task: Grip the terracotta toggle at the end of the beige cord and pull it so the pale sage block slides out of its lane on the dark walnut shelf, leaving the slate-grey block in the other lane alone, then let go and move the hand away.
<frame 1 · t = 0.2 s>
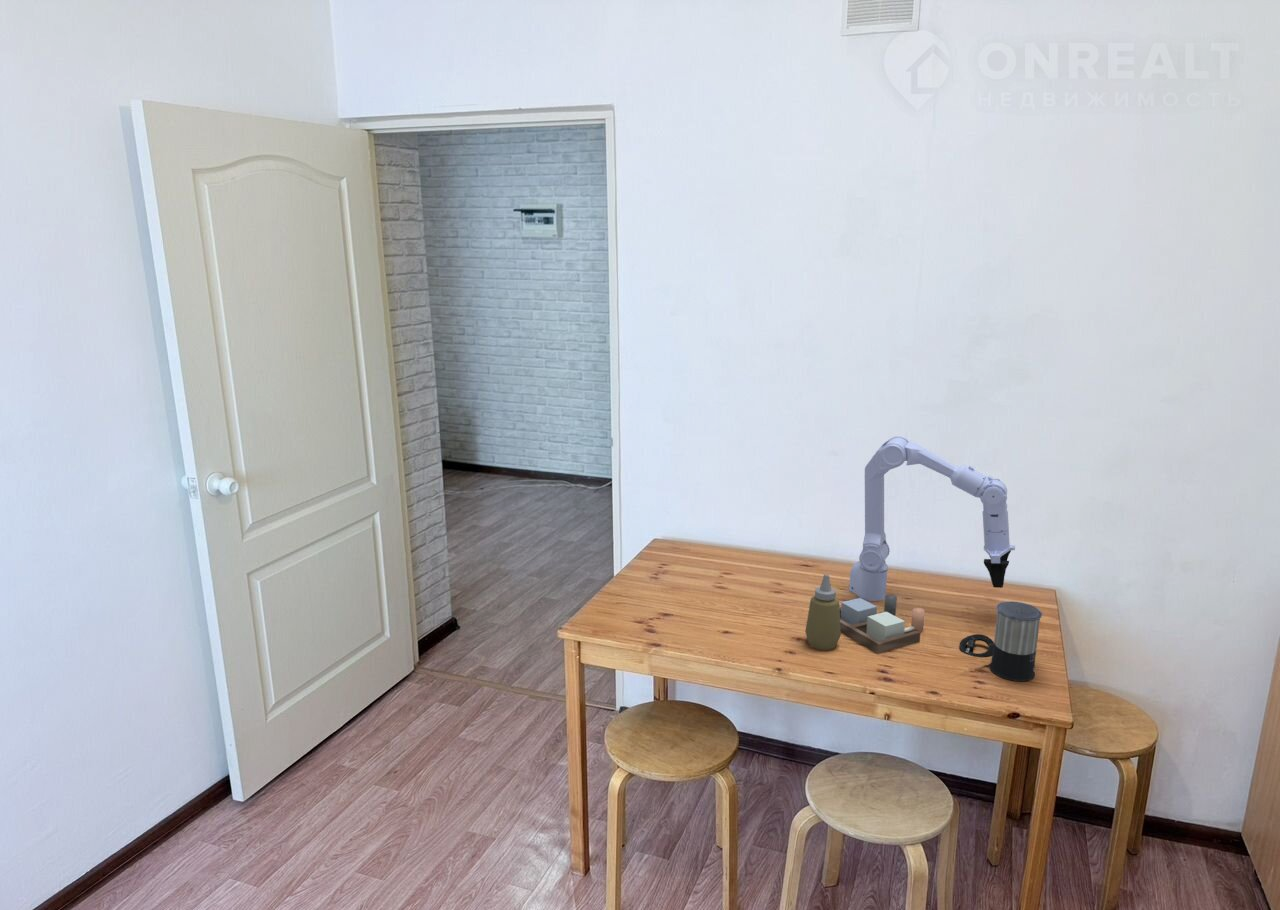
hand: (999, 581, 204), 10 cm above the table, tool pointing down, fingers open, 7 cm apart
milk frother: (995, 664, 184), on the table
slate block: (872, 610, 204), point 3 cm above the table, slide at 0.0 cm
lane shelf: (892, 628, 202), on the table
squeeze bottle: (822, 648, 192), on the table
sage block: (899, 624, 196), point 3 cm above the table, slide at 0.0 cm
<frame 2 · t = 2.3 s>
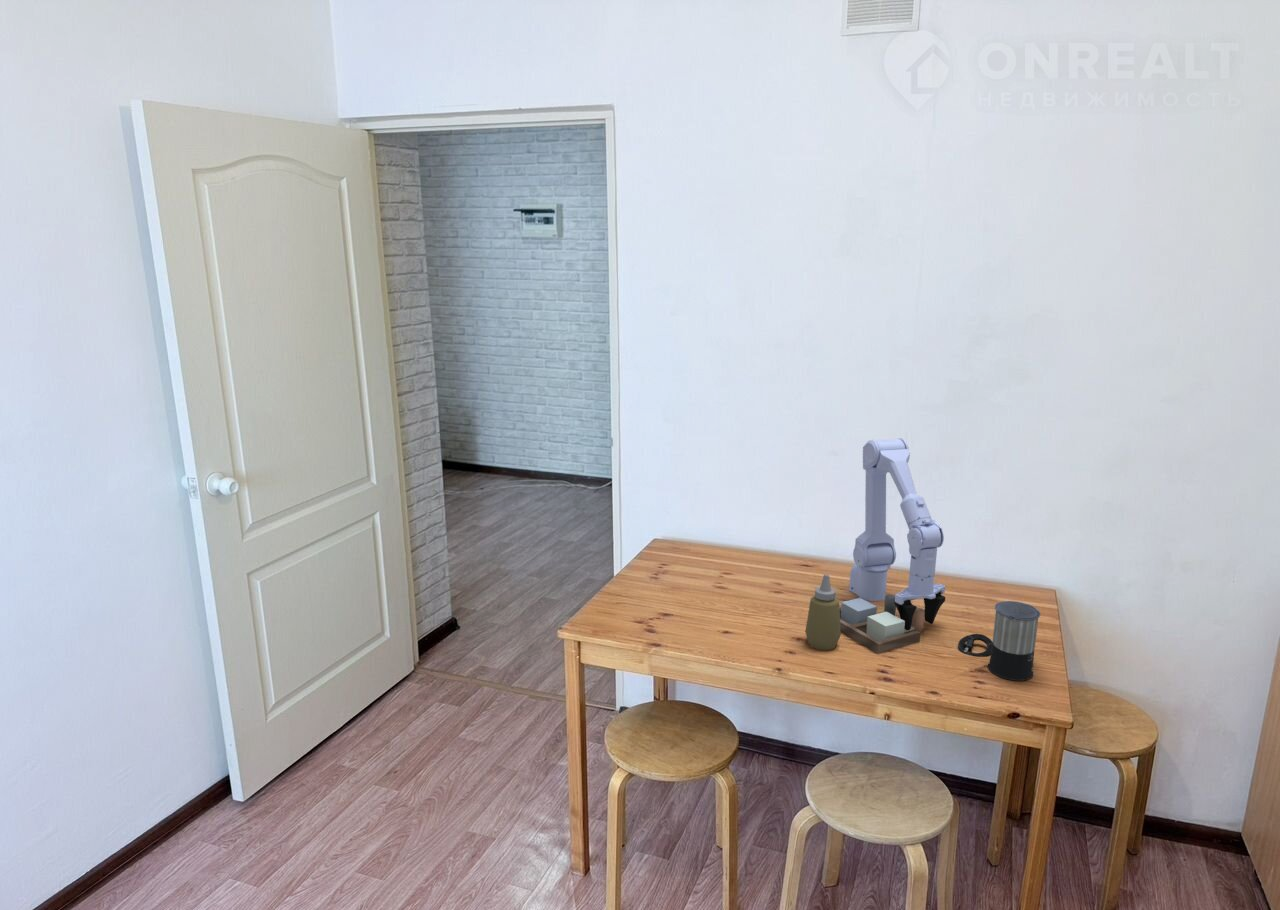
hand: (917, 625, 199), 2 cm above the table, tool pointing down, fingers open, 7 cm apart
sage block: (899, 624, 196), point 3 cm above the table, slide at 0.0 cm, touching gripper
everything else where it was.
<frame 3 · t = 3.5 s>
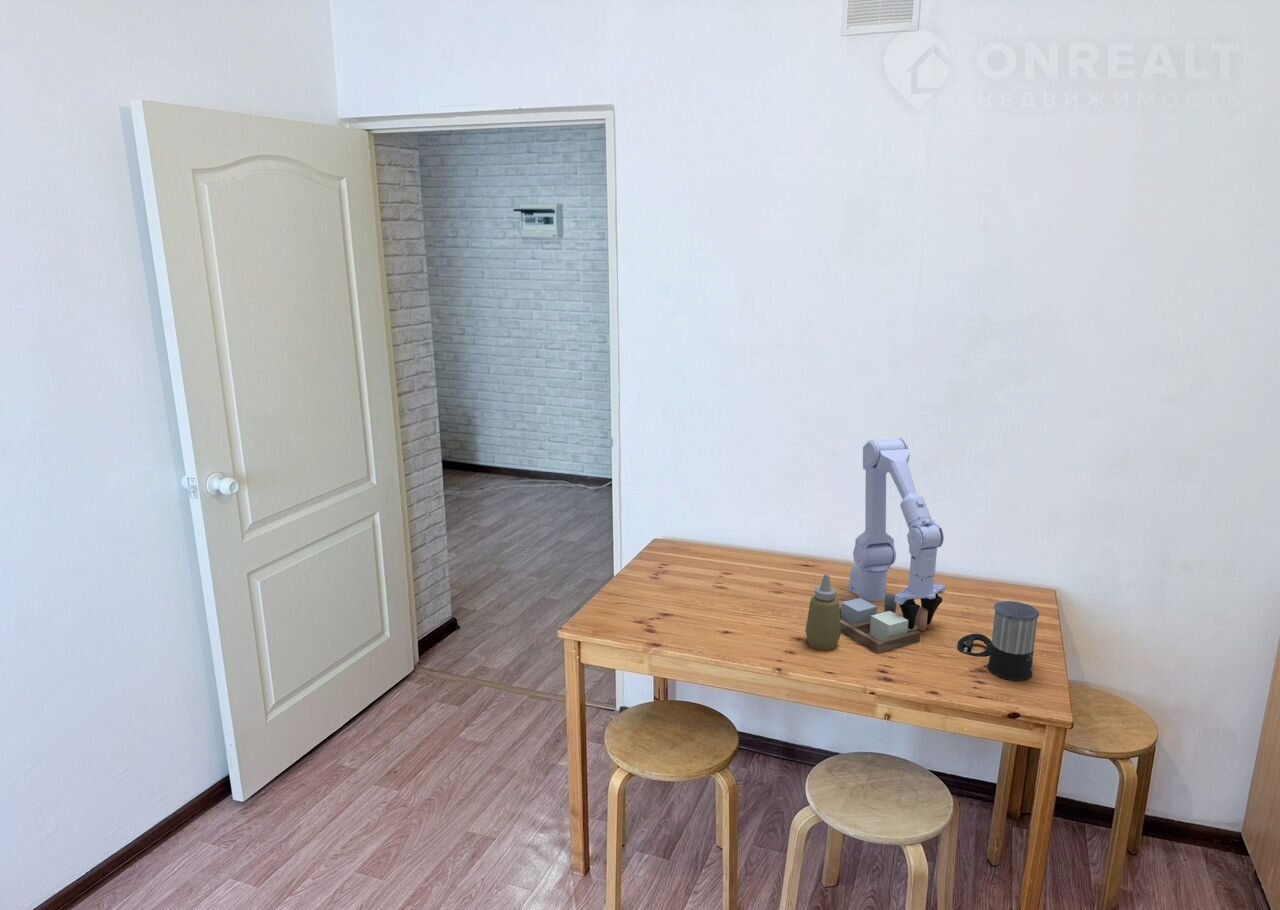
hand: (917, 625, 199), 2 cm above the table, tool pointing down, fingers closed on sage block, 5 cm apart
sage block: (902, 623, 196), point 3 cm above the table, slide at 1.1 cm, touching gripper
everything else where it was.
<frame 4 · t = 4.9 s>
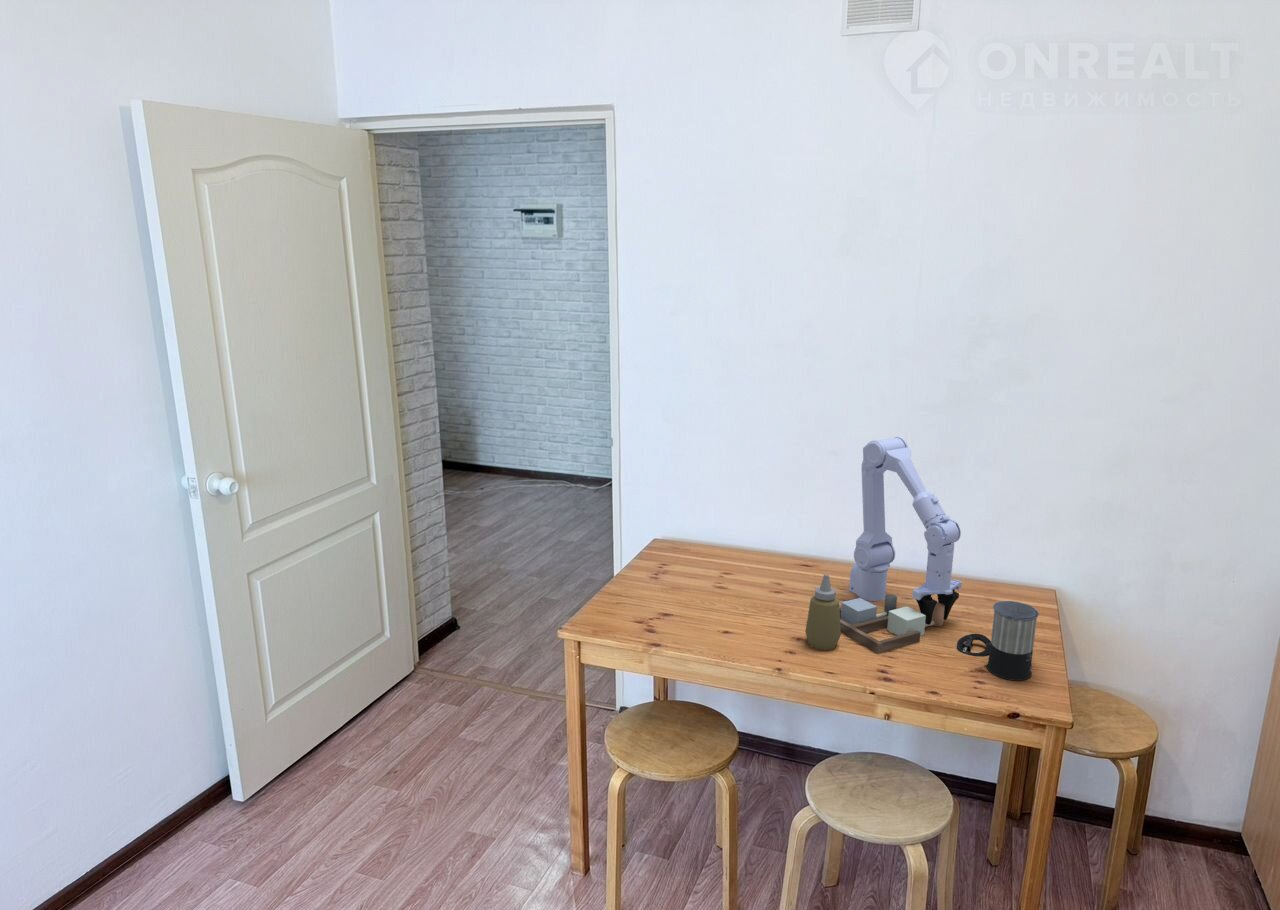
hand: (934, 620, 201), 2 cm above the table, tool pointing down, fingers closed on sage block, 5 cm apart
sage block: (919, 619, 199), point 3 cm above the table, slide at 6.7 cm, touching gripper
everything else where it was.
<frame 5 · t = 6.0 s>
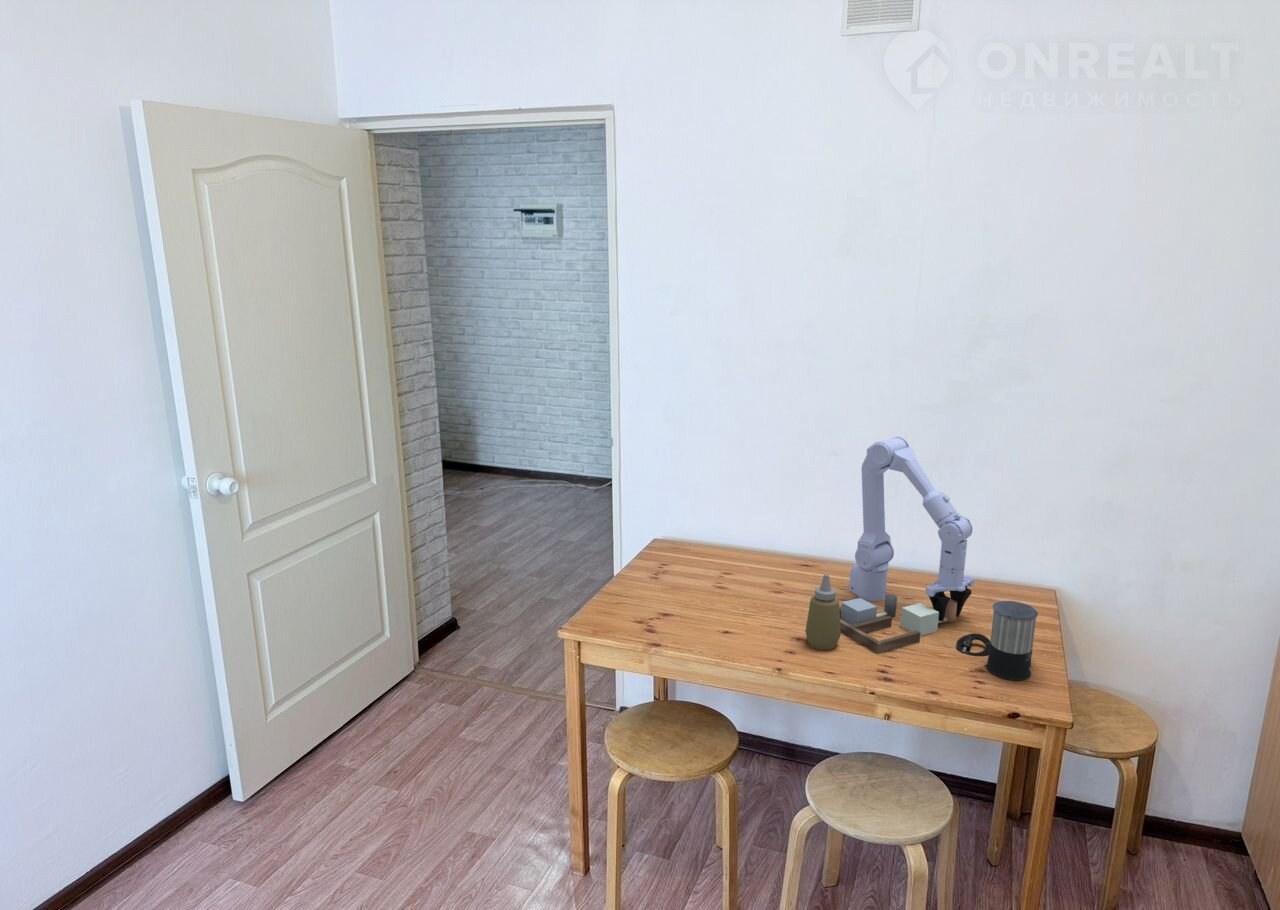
hand: (947, 617, 203), 2 cm above the table, tool pointing down, fingers closed on sage block, 5 cm apart
sage block: (932, 615, 201), point 3 cm above the table, slide at 11.0 cm, touching gripper
everything else where it was.
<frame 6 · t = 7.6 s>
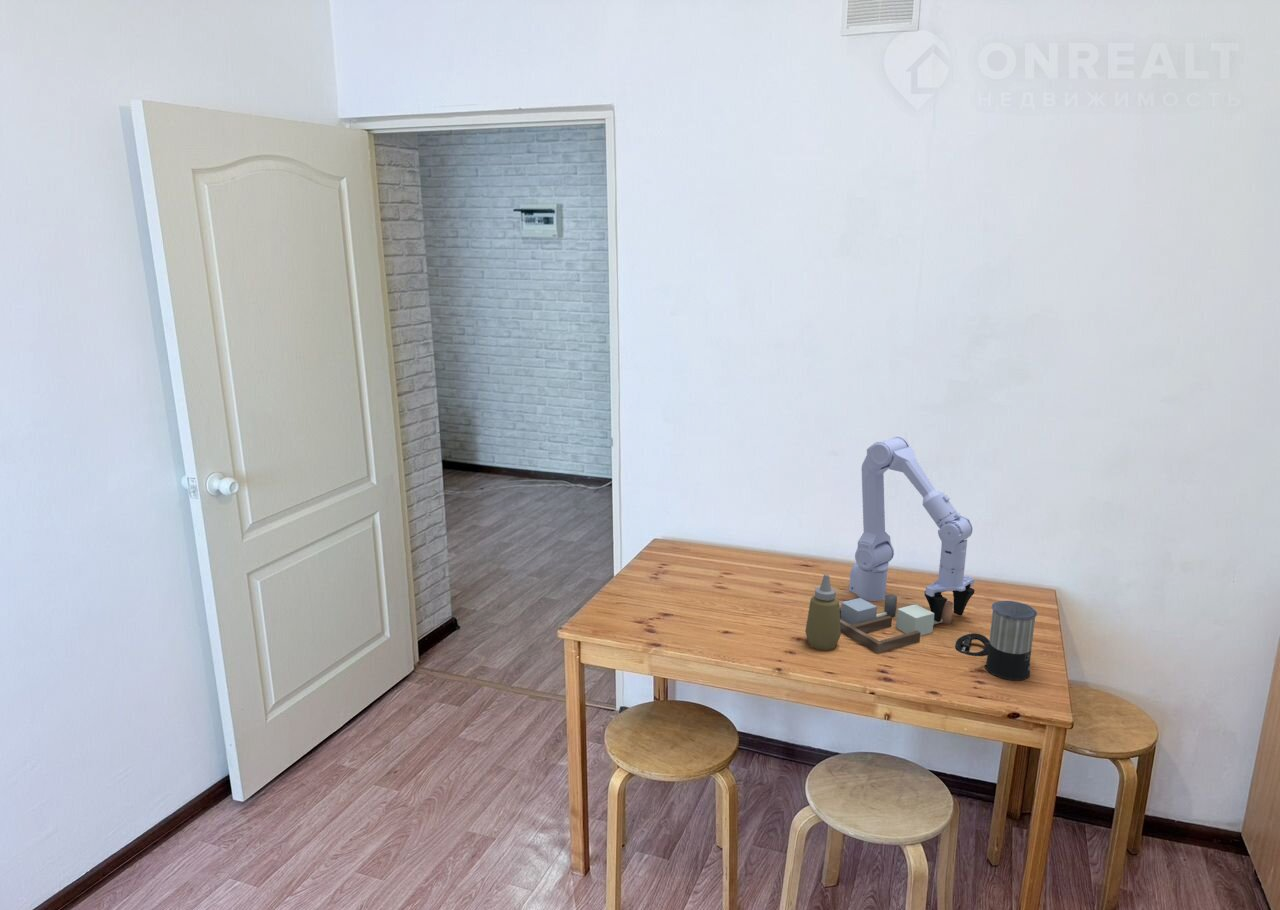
hand: (947, 617, 203), 2 cm above the table, tool pointing down, fingers open, 7 cm apart
sage block: (928, 616, 200), point 3 cm above the table, slide at 9.5 cm, touching gripper
everything else where it was.
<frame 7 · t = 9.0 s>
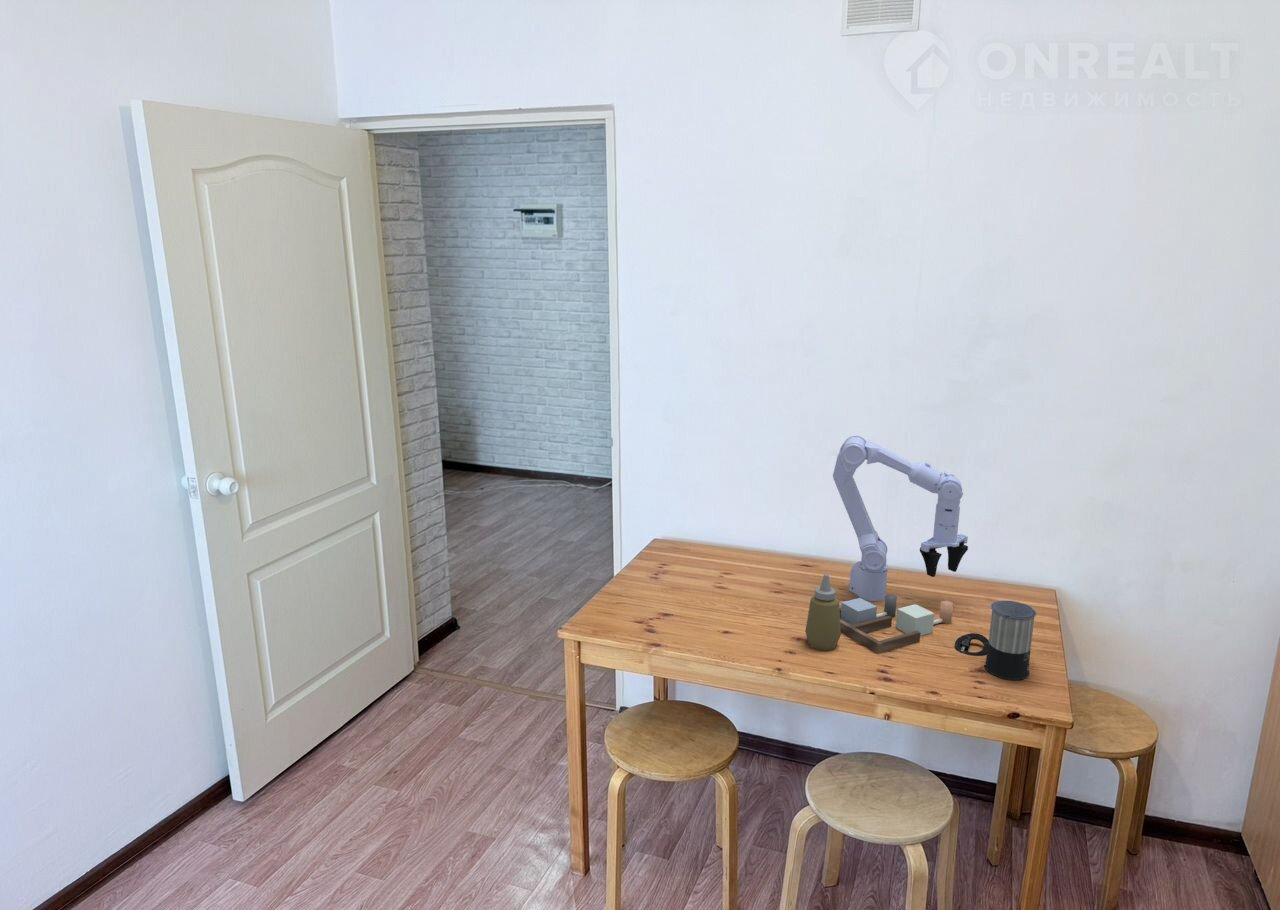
hand: (941, 573, 212), 9 cm above the table, tool pointing down, fingers open, 7 cm apart
sage block: (928, 616, 200), point 3 cm above the table, slide at 9.5 cm
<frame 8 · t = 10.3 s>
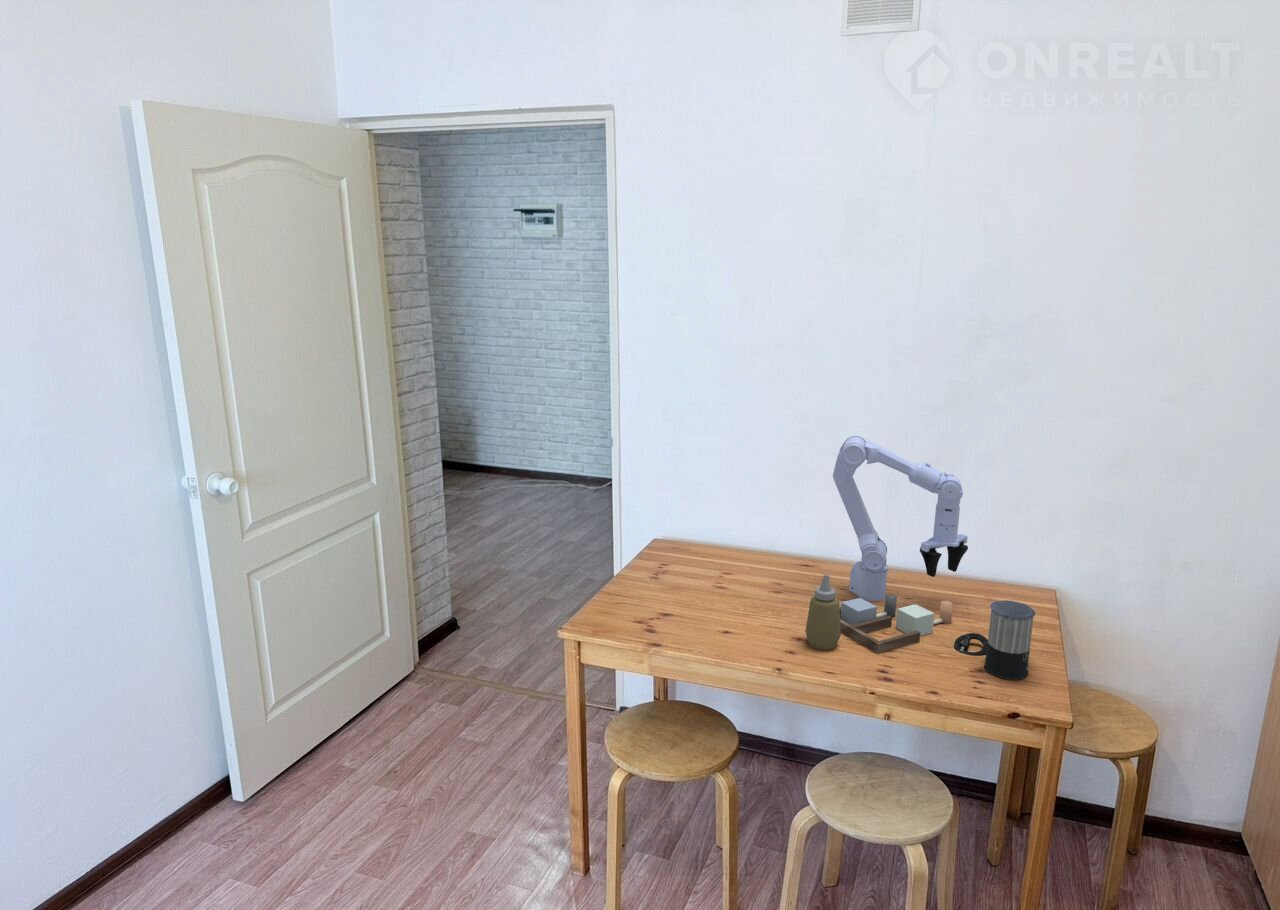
hand: (941, 572, 212), 9 cm above the table, tool pointing down, fingers open, 7 cm apart
at the end: sage block slide at 9.5 cm; the gripper is holding nothing; slate block slide at 0.0 cm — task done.
